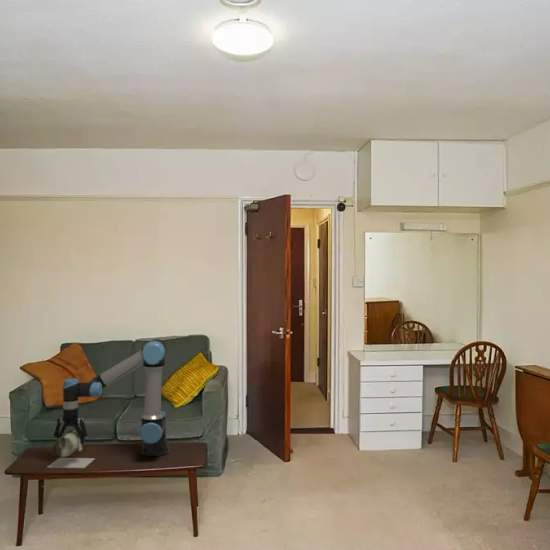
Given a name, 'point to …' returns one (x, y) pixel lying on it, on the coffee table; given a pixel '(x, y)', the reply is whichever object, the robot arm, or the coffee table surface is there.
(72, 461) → the mat
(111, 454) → the coffee table surface
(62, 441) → the coffee can
